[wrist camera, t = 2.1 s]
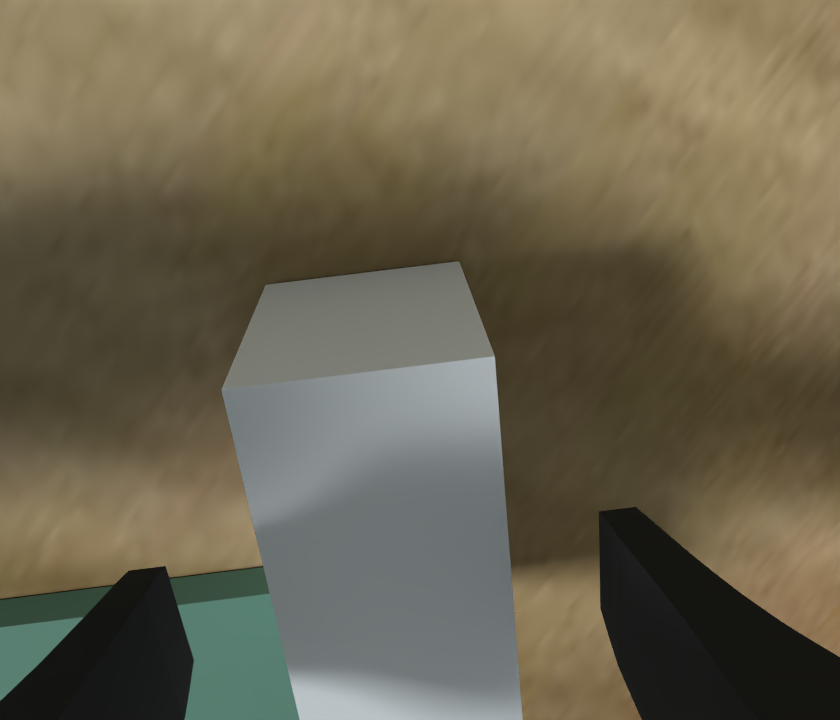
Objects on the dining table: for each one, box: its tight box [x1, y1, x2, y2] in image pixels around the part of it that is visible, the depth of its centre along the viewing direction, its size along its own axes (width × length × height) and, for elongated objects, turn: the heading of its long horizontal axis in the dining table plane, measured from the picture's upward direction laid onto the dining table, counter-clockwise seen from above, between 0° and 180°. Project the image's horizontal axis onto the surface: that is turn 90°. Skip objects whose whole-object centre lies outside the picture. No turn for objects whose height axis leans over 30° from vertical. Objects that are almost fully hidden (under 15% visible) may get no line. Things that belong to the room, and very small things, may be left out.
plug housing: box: [221, 261, 522, 720], centre depth 15 cm, size 4×8×5 cm, turn 6°
